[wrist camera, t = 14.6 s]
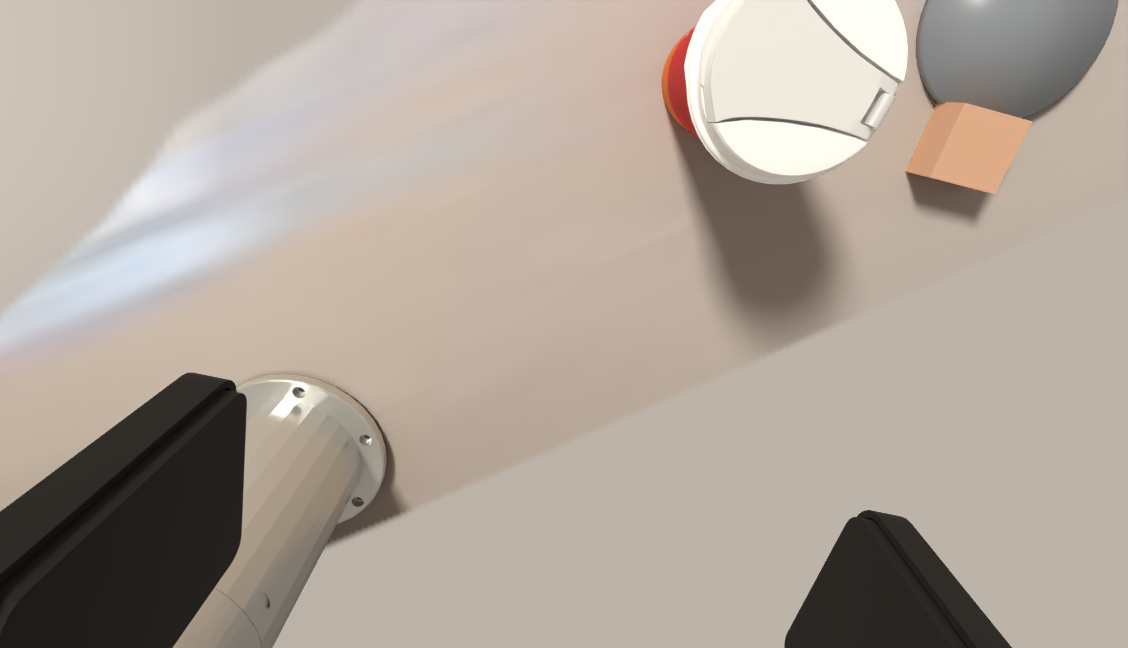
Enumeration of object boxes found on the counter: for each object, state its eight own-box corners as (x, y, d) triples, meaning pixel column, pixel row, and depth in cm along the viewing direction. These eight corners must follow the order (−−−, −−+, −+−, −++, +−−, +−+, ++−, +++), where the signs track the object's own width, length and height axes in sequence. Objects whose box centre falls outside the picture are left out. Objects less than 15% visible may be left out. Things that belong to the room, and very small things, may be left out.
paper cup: (804, 39, 32) (971, 4, 19) (737, 171, 34) (842, 221, 21) (677, -23, 30) (761, -106, 18) (618, 119, 33) (652, 138, 20)
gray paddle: (971, -108, 29) (1006, -125, 27) (1144, -54, 30) (1193, -66, 28) (858, 159, 34) (880, 164, 32) (1010, 198, 35) (1042, 206, 33)
